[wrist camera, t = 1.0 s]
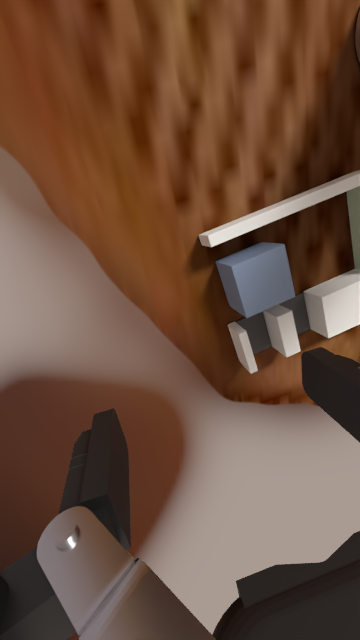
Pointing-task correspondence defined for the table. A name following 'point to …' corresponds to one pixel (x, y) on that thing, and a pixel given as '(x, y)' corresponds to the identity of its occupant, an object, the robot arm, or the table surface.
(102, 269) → the table surface
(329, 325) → the white open shelf
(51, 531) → the robot arm
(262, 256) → the block
